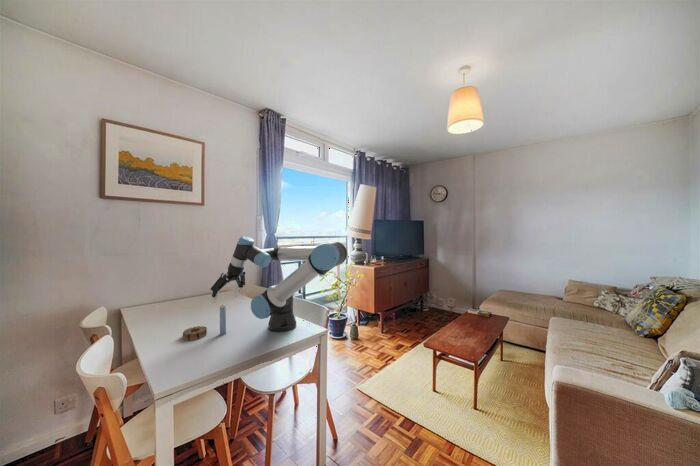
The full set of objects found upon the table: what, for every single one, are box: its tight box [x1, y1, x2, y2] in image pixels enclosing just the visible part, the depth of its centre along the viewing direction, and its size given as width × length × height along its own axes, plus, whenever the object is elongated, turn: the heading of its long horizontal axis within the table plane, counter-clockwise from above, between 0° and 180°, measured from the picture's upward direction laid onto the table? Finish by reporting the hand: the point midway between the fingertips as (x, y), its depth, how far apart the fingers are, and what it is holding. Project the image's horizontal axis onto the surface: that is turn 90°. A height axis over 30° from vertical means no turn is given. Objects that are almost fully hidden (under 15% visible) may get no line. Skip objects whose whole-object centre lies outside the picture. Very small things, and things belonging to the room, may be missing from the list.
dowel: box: [219, 304, 227, 336], centre depth 127 cm, size 3×3×15 cm
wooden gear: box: [182, 325, 208, 341], centre depth 125 cm, size 10×10×3 cm
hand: (224, 299), depth 133 cm, fingers open, 13 cm apart
